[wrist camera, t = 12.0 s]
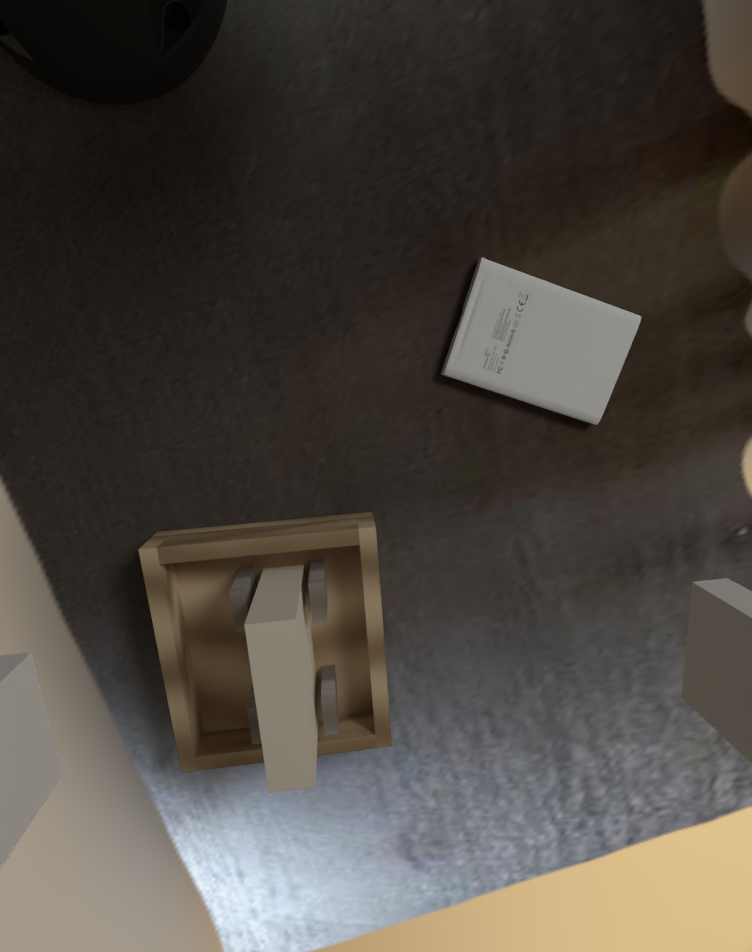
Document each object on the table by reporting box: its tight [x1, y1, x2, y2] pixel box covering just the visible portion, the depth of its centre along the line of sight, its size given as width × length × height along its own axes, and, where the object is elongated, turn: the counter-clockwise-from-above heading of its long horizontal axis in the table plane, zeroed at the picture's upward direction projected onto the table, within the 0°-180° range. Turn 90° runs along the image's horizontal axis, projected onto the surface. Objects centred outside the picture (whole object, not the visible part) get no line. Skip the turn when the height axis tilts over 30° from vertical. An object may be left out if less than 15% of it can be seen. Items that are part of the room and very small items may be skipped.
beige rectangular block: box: [244, 565, 319, 793], centre depth 34 cm, size 12×3×8 cm, turn 4°
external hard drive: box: [441, 258, 641, 425], centre depth 35 cm, size 2×8×12 cm
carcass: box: [138, 512, 392, 773], centre depth 36 cm, size 18×16×5 cm
